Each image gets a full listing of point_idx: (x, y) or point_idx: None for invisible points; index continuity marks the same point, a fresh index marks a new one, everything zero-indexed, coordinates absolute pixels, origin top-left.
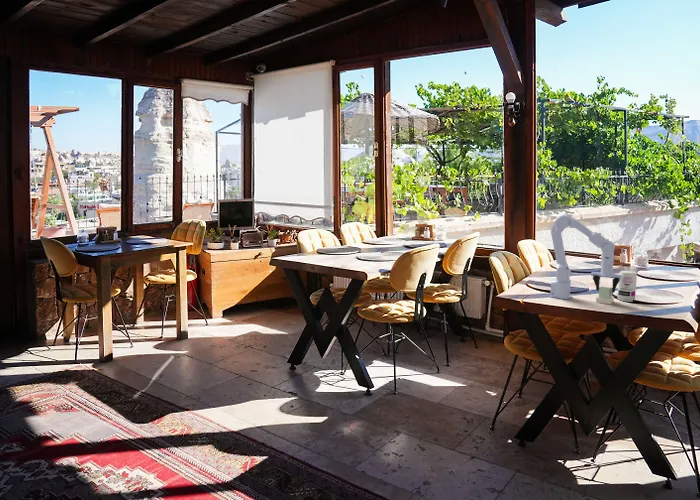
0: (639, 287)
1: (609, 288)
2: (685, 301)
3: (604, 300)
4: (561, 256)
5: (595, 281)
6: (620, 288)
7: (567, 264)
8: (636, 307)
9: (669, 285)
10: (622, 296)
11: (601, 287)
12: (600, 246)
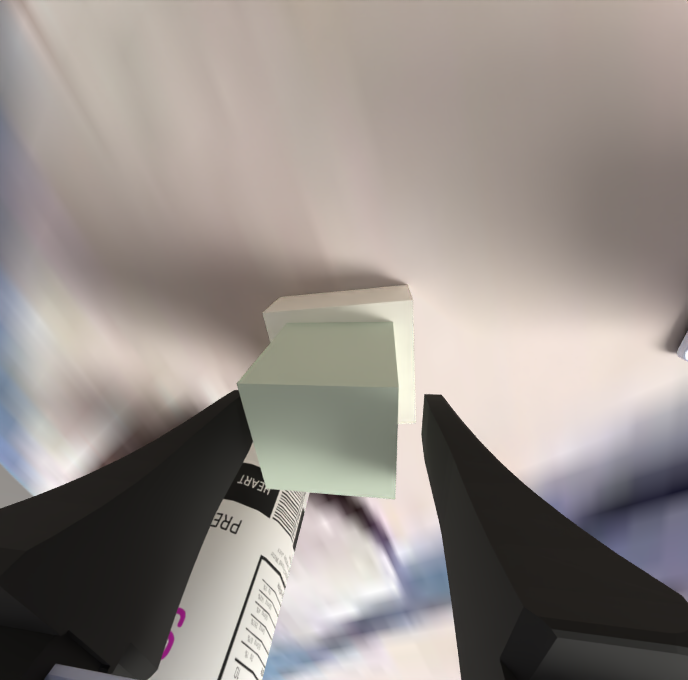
0: (328, 647)
1: (264, 429)
2: None
3: (326, 300)
4: None
5: (526, 511)
6: (242, 528)
7: None
8: (110, 324)
9: (265, 674)
10: (249, 456)
11: (378, 430)
12: None
